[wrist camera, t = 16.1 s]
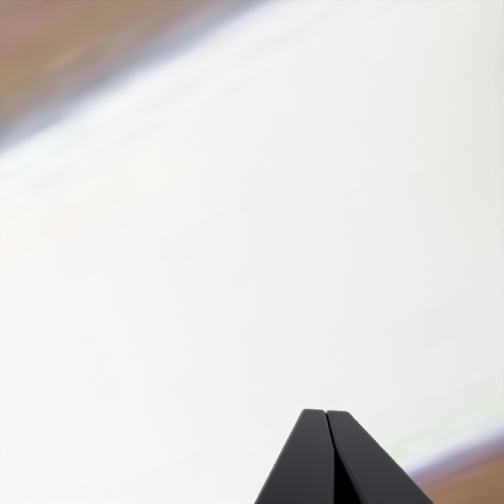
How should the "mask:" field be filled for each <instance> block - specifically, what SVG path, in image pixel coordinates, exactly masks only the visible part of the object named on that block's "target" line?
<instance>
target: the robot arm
mask: <svg viewBox="0 0 504 504" xmlns="http://www.w3.org/2000/svg"><path fill="white" fill-rule="evenodd" d="M254 504H435V503H434V502H433V501H432V500H431V499H430V498H429V497H428V496H427V495H426V494H425V493H424V491H423V490H422V489H421V488H420V487H419V486H418V485H417V484H416V483H415V482H414V481H413V480H412V479H411V478H410V477H409V476H408V475H407V473H406V472H405V471H404V470H403V469H402V468H401V467H400V466H399V465H398V464H397V463H396V462H395V461H394V460H393V459H392V458H391V457H390V456H389V454H388V453H387V452H386V451H385V450H384V449H383V448H382V447H381V446H380V445H379V444H378V443H377V442H376V441H375V440H374V439H373V438H372V436H371V435H370V434H369V433H368V432H367V431H366V430H365V429H364V428H363V427H362V426H361V425H360V424H359V423H358V422H357V421H356V420H355V419H354V417H353V416H352V415H351V414H350V413H348V412H347V411H334V410H328V411H327V412H326V413H325V411H323V410H318V409H304V410H303V411H302V412H301V414H300V416H299V418H298V420H297V422H296V424H295V426H294V428H293V430H292V432H291V433H290V435H289V437H288V439H287V441H286V443H285V445H284V447H283V449H282V451H281V453H280V455H279V457H278V459H277V460H276V462H275V464H274V466H273V468H272V470H271V472H270V474H269V476H268V478H267V480H266V482H265V484H264V486H263V487H262V489H261V491H260V493H259V495H258V497H257V499H256V501H255V503H254Z"/></svg>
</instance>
